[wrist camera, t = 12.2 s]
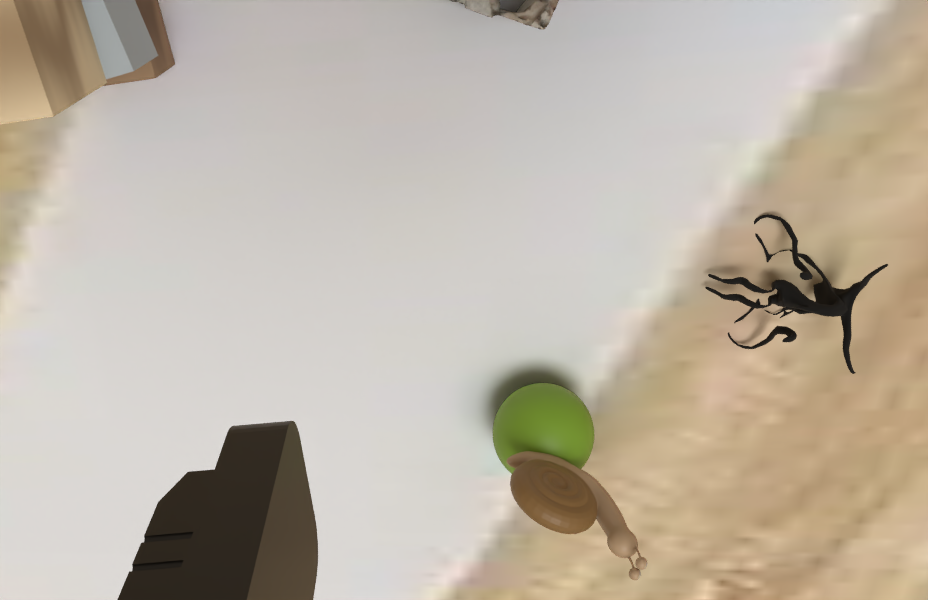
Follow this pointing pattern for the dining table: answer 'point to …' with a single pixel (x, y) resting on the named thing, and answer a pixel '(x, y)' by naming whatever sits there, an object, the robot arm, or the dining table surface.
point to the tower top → (119, 35)
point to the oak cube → (45, 58)
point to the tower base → (157, 32)
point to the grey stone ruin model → (530, 12)
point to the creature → (801, 296)
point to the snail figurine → (557, 466)
